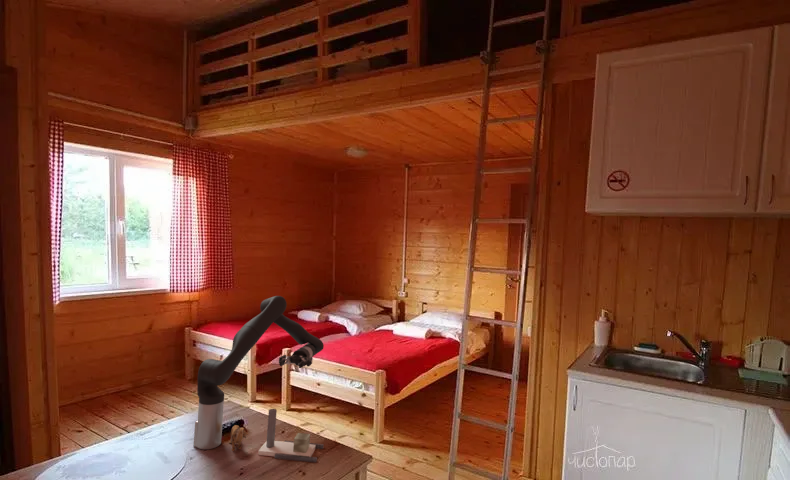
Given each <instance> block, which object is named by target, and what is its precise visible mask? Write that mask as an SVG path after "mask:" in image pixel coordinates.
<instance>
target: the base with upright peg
mask: <svg viewBox="0 0 790 480" xmlns="http://www.w3.org/2000/svg"><path fill="white" fill-rule="evenodd" d="M277 412H278V411H277V409H276V408H270V409H268V414H267V433H266V441H265V442H264V443H263V445H262V446H261V447H260V448H259V449H258V454H257V455H258V456H265V457H266V456H269V457H275V454H276V453H278V454H288V455H298V456H308V457H313V454H314V452H315V450H316V448H315V447H316V445H313V444H310V445H309V448H308V450H307V452H306V453H302V452H293V447H294V443H292V442H284V441H282V440H281V441H280V440H276V426H277V425H276V424H277Z"/></svg>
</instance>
